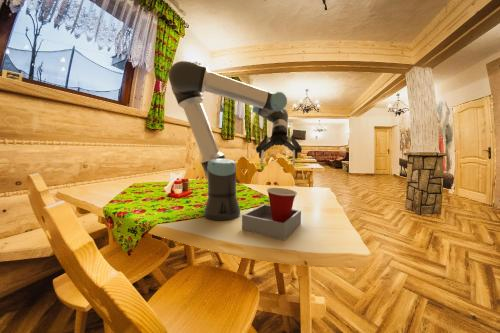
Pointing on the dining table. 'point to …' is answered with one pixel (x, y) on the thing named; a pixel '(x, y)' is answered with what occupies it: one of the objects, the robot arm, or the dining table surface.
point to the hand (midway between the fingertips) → (277, 163)
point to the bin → (270, 222)
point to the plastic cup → (281, 203)
